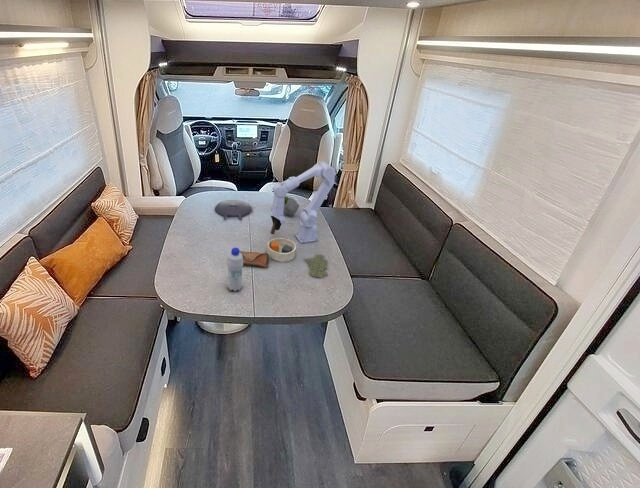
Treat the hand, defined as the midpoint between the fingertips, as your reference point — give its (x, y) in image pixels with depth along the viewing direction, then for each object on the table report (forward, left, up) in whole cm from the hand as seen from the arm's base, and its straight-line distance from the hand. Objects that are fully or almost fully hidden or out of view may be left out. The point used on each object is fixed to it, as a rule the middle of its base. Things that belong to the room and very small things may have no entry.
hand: (276, 228), depth 168 cm
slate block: (0, +15, -6) cm, 16 cm away
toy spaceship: (+14, -38, -7) cm, 41 cm away
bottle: (+32, +32, -7) cm, 45 cm away
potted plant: (-18, -27, -7) cm, 34 cm away
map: (-10, +26, -7) cm, 29 cm away
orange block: (+5, +10, -6) cm, 13 cm away
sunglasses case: (+20, +16, -7) cm, 26 cm away
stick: (+2, 0, -3) cm, 4 cm away
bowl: (+2, +13, -7) cm, 15 cm away
